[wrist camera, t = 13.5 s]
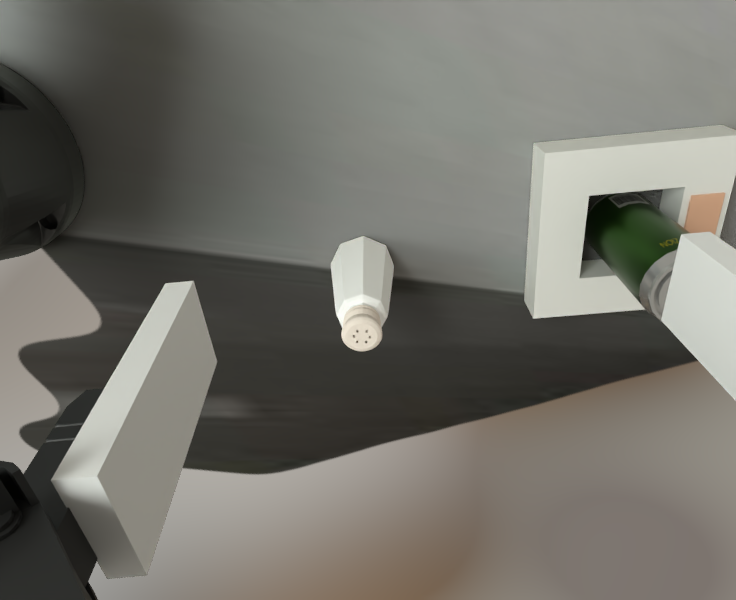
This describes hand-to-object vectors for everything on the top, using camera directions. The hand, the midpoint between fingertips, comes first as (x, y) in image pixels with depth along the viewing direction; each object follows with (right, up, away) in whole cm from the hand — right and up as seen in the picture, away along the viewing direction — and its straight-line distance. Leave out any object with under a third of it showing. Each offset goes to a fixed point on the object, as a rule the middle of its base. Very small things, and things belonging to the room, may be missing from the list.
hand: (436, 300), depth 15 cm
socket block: (+18, +7, +29) cm, 35 cm away
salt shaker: (-2, +3, +31) cm, 32 cm away
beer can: (+18, +7, +29) cm, 35 cm away
